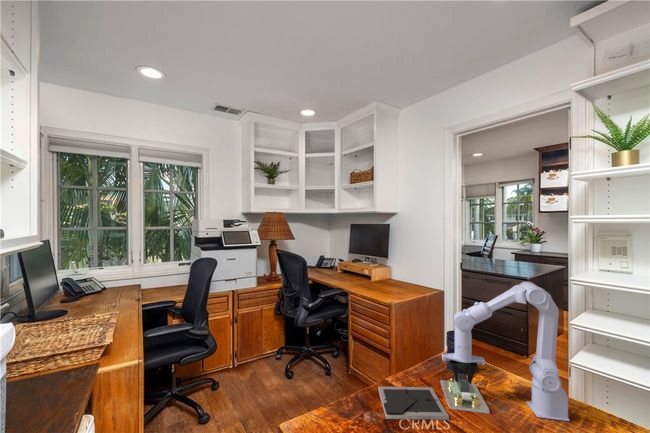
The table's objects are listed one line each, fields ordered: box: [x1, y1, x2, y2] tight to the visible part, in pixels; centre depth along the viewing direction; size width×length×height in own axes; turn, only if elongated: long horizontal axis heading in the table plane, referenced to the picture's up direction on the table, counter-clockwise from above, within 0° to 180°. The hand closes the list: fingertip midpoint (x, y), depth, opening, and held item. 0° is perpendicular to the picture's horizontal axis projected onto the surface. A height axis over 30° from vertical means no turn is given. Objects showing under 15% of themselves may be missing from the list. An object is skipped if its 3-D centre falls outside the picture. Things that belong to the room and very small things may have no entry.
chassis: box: [439, 377, 491, 414], centre depth 106 cm, size 13×16×4 cm
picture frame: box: [377, 386, 450, 421], centre depth 102 cm, size 16×3×21 cm
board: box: [449, 374, 478, 401], centre depth 106 cm, size 8×12×5 cm, turn 168°
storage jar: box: [445, 330, 468, 375], centre depth 126 cm, size 10×10×15 cm
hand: (462, 381), depth 106 cm, fingers open, 4 cm apart
